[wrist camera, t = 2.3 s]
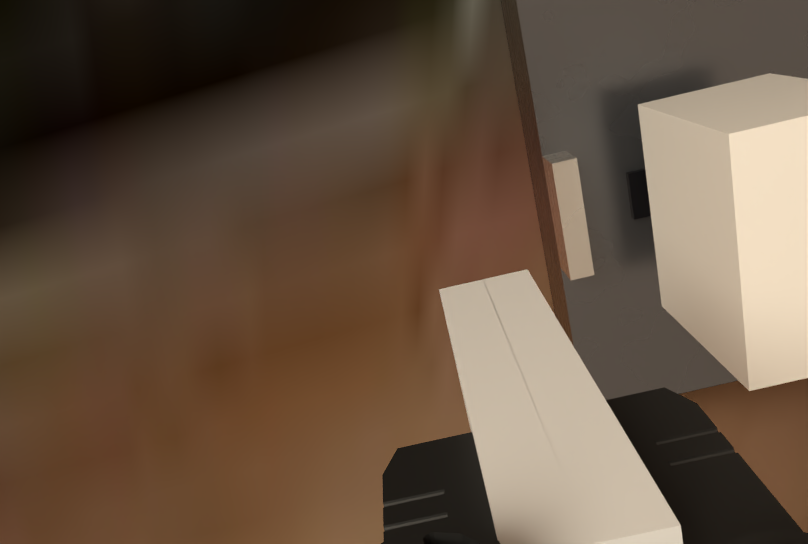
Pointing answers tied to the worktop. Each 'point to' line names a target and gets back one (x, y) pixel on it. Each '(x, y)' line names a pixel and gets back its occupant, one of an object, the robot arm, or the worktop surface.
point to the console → (626, 158)
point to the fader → (734, 221)
